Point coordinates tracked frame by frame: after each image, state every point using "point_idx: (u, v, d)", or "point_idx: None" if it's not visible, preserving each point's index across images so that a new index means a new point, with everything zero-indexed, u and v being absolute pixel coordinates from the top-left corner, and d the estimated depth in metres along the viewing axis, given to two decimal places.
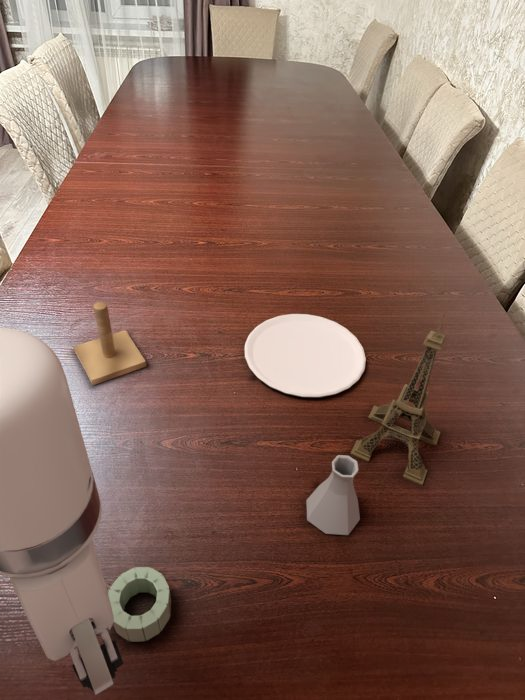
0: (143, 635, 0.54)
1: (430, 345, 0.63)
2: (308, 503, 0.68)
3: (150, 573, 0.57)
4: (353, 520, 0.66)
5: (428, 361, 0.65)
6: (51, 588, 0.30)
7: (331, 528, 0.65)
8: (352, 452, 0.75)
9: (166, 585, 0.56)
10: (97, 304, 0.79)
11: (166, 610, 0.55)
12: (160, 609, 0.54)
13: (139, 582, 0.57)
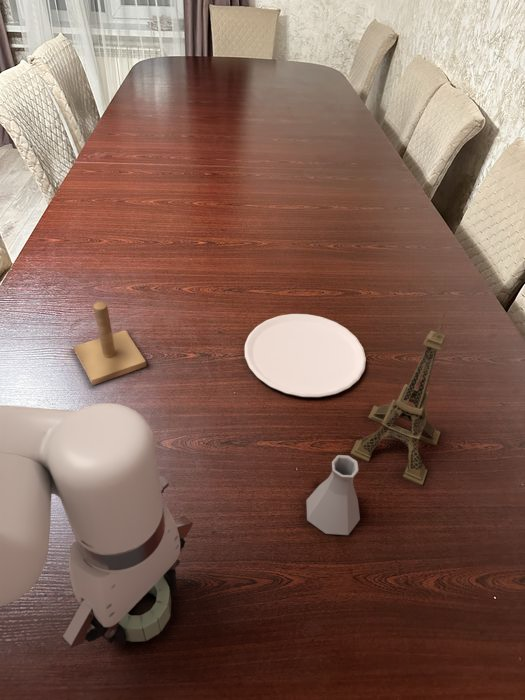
0: (143, 635, 0.54)
1: (430, 345, 0.63)
2: (308, 503, 0.68)
3: None
4: (353, 520, 0.66)
5: (428, 361, 0.65)
6: (75, 567, 0.44)
7: (331, 528, 0.65)
8: (352, 452, 0.75)
9: (166, 585, 0.56)
10: (97, 304, 0.79)
11: (166, 610, 0.55)
12: (160, 609, 0.54)
13: None
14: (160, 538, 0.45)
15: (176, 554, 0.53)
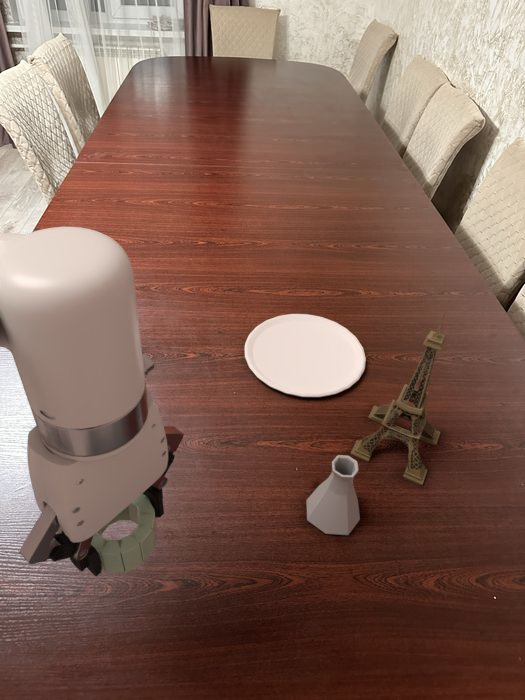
0: (122, 564, 0.45)
1: (430, 345, 0.63)
2: (308, 503, 0.68)
3: None
4: (353, 520, 0.66)
5: (428, 361, 0.65)
6: (34, 454, 0.35)
7: (331, 528, 0.65)
8: (352, 452, 0.75)
9: (151, 508, 0.47)
10: None
11: (150, 536, 0.46)
12: (143, 533, 0.45)
13: None
14: (141, 423, 0.36)
15: (163, 464, 0.44)
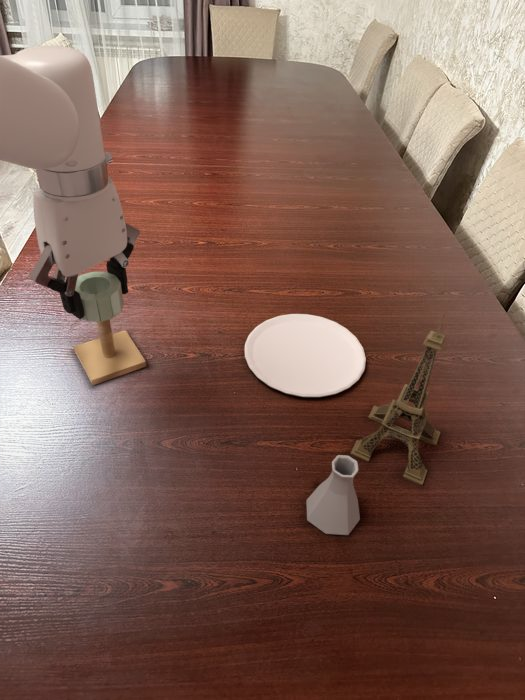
0: (98, 312, 0.68)
1: (430, 345, 0.63)
2: (308, 503, 0.68)
3: (106, 274, 0.70)
4: (353, 520, 0.66)
5: (428, 361, 0.65)
6: (37, 199, 0.57)
7: (331, 528, 0.65)
8: (352, 452, 0.75)
9: (118, 281, 0.70)
10: None
11: (117, 295, 0.68)
12: (112, 292, 0.68)
13: (97, 282, 0.71)
14: (103, 183, 0.58)
15: (123, 240, 0.66)
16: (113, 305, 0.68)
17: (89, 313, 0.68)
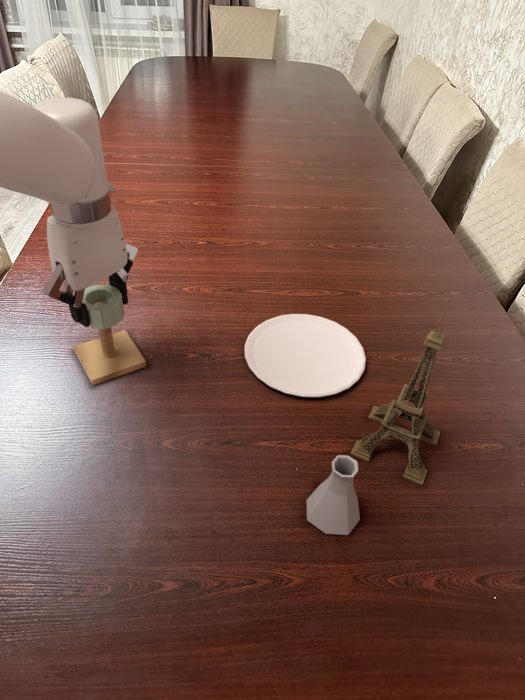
0: (102, 321, 0.77)
1: (430, 345, 0.63)
2: (308, 503, 0.68)
3: (108, 287, 0.80)
4: (353, 520, 0.66)
5: (428, 361, 0.65)
6: (50, 226, 0.66)
7: (331, 528, 0.65)
8: (352, 452, 0.75)
9: (119, 293, 0.79)
10: (97, 304, 0.79)
11: (119, 306, 0.78)
12: (114, 303, 0.77)
13: (101, 294, 0.80)
14: (107, 211, 0.67)
15: (124, 258, 0.76)
16: (115, 314, 0.78)
17: (94, 322, 0.77)
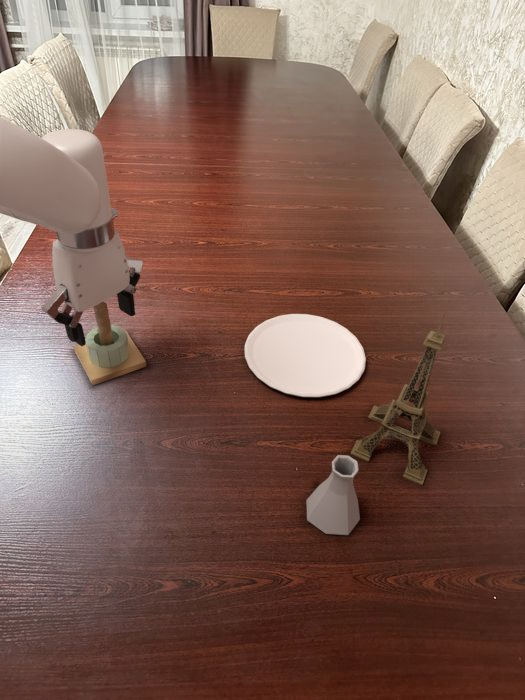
0: (109, 360, 0.82)
1: (430, 345, 0.63)
2: (308, 503, 0.68)
3: (115, 327, 0.85)
4: (353, 520, 0.66)
5: (428, 361, 0.65)
6: (56, 250, 0.69)
7: (331, 528, 0.65)
8: (352, 452, 0.75)
9: (125, 333, 0.84)
10: None
11: (124, 346, 0.83)
12: (120, 343, 0.82)
13: None
14: (110, 236, 0.70)
15: (126, 279, 0.78)
16: (121, 354, 0.83)
17: (101, 361, 0.82)
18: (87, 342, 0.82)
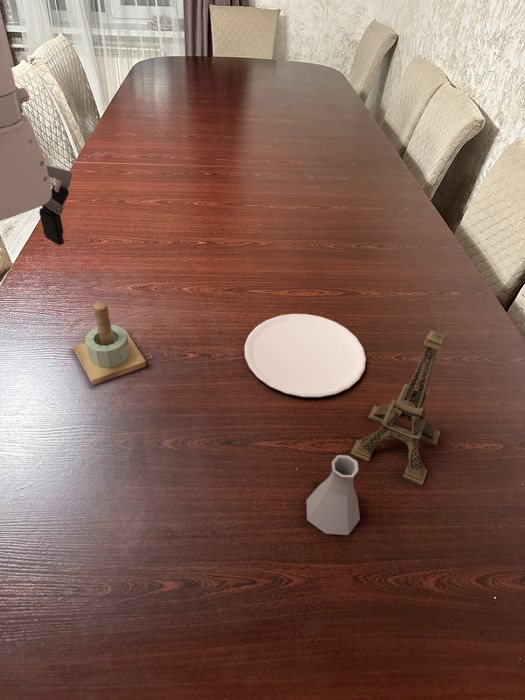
0: (109, 360, 0.82)
1: (430, 345, 0.63)
2: (308, 503, 0.68)
3: (115, 327, 0.85)
4: (353, 520, 0.66)
5: (428, 361, 0.65)
6: None
7: (331, 528, 0.65)
8: (352, 452, 0.75)
9: (125, 333, 0.84)
10: (97, 304, 0.79)
11: (124, 346, 0.83)
12: (120, 343, 0.82)
13: None
14: (13, 118, 0.53)
15: (46, 190, 0.61)
16: (121, 354, 0.83)
17: (101, 361, 0.82)
18: (87, 342, 0.82)
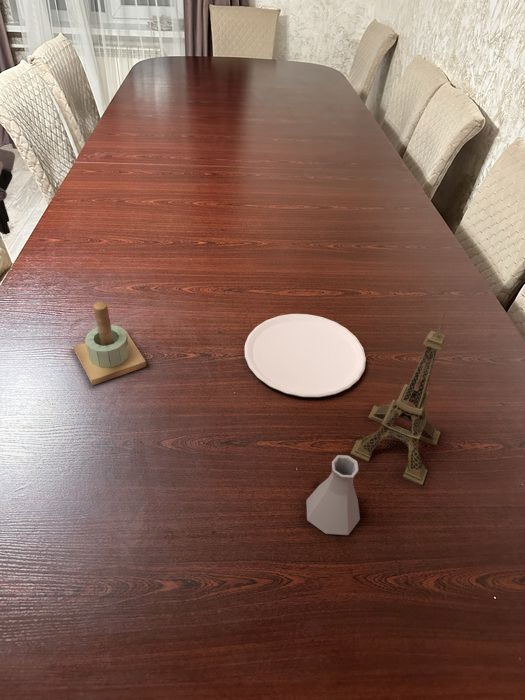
0: (109, 360, 0.82)
1: (430, 345, 0.63)
2: (308, 503, 0.68)
3: (115, 327, 0.85)
4: (353, 520, 0.66)
5: (428, 361, 0.65)
6: None
7: (331, 528, 0.65)
8: (352, 452, 0.75)
9: (125, 333, 0.84)
10: (97, 304, 0.79)
11: (124, 346, 0.83)
12: (120, 343, 0.82)
13: None
14: None
15: None
16: (121, 354, 0.83)
17: (101, 361, 0.82)
18: (87, 342, 0.82)
